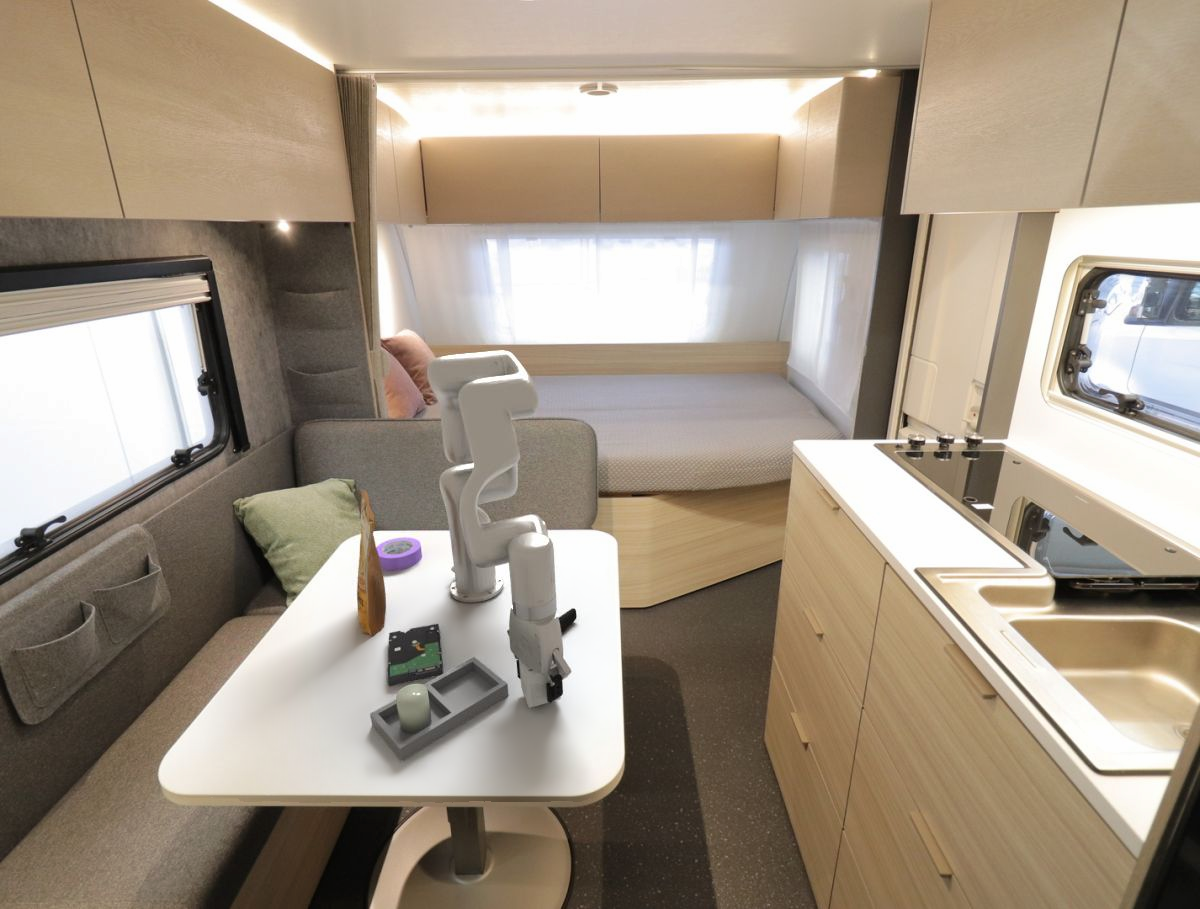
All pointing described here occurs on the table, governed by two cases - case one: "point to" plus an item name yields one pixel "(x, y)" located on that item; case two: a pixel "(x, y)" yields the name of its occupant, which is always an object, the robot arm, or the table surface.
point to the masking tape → (401, 560)
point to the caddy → (443, 706)
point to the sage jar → (413, 708)
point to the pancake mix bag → (370, 576)
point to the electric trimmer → (567, 619)
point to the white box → (534, 685)
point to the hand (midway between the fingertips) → (540, 685)
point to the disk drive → (414, 655)
